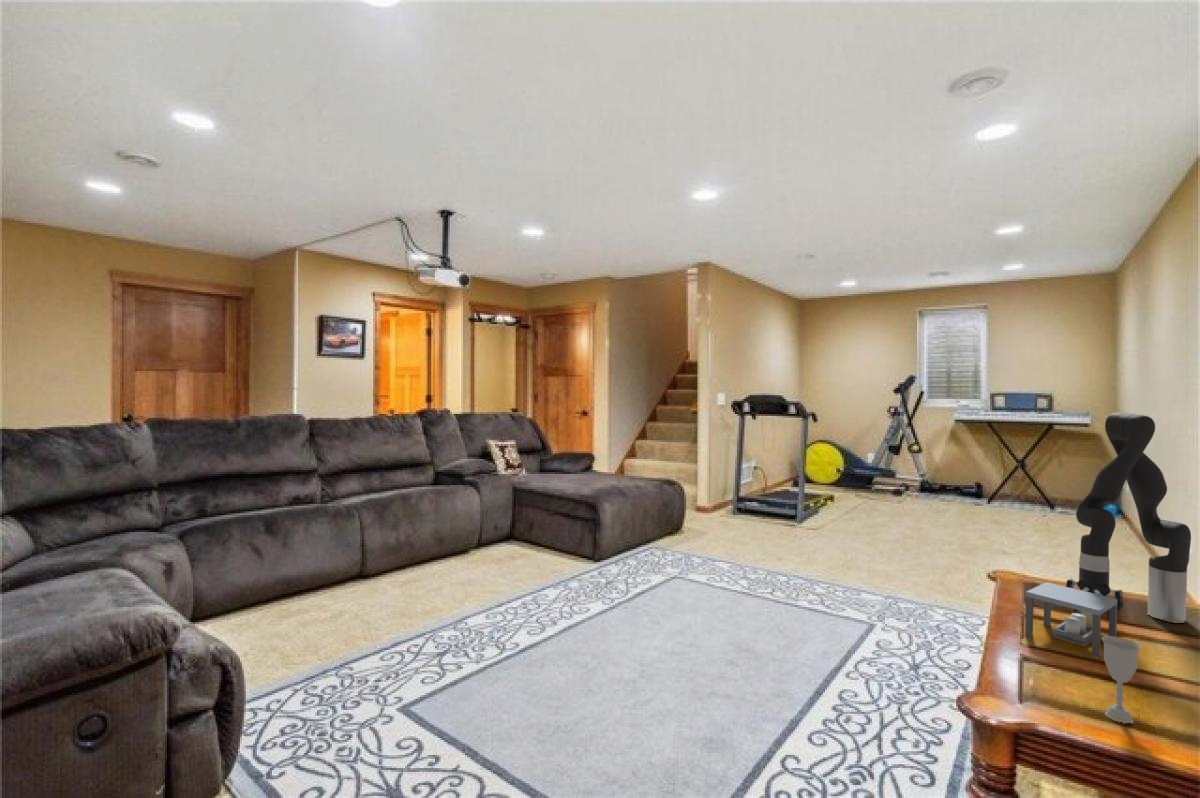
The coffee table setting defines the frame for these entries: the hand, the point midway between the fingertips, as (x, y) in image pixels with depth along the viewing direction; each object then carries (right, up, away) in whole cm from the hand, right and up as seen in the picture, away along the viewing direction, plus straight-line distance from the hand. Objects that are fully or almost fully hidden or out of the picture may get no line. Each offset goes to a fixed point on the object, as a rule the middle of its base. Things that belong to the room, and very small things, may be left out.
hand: (1093, 616), depth 188 cm
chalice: (-39, -4, -53) cm, 66 cm away
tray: (-10, -3, -7) cm, 13 cm away
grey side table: (-17, -3, -11) cm, 20 cm away
